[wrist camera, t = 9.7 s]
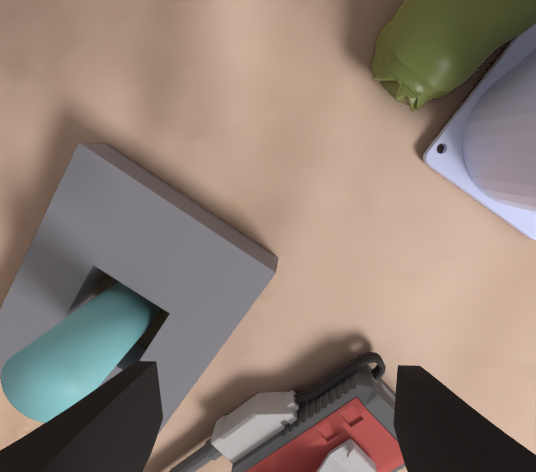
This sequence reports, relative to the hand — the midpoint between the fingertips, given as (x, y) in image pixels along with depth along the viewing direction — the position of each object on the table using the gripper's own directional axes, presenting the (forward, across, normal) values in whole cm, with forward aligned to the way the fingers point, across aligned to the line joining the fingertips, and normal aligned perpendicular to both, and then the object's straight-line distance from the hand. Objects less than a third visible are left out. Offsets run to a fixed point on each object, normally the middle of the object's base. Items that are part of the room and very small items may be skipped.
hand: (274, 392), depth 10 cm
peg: (+11, +10, +2) cm, 15 cm away
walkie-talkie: (+11, 0, +13) cm, 17 cm away
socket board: (+11, +10, +2) cm, 15 cm away
